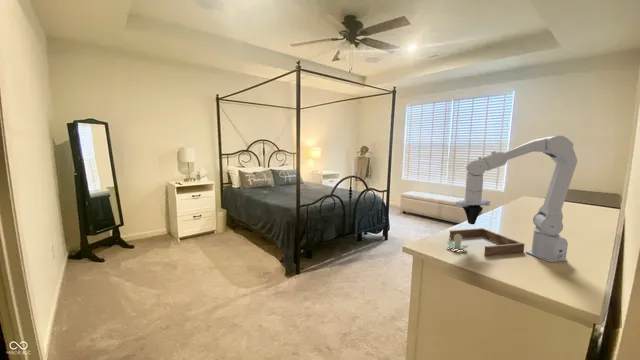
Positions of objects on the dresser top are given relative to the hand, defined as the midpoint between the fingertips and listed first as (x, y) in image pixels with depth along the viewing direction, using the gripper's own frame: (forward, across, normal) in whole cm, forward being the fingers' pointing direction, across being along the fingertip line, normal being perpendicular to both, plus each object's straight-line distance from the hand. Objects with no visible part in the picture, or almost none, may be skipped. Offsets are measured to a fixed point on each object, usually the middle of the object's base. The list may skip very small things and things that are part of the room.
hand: (471, 223), depth 110 cm
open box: (+9, -7, 0) cm, 12 cm away
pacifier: (+10, +8, +2) cm, 13 cm away
